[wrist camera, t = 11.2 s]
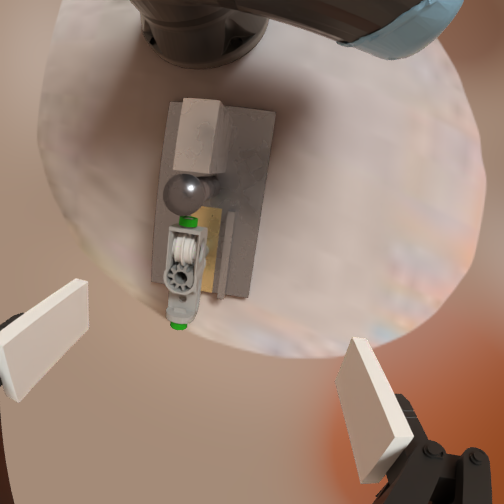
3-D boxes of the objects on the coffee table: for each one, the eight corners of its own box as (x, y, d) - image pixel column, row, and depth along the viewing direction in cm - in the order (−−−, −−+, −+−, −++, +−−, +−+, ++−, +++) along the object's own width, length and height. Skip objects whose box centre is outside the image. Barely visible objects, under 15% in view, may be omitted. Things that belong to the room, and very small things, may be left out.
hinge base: (172, 103, 33) (129, 75, 21) (275, 113, 33) (280, 84, 21) (153, 279, 39) (110, 323, 26) (248, 294, 39) (240, 349, 26)
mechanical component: (185, 288, 38) (160, 327, 28) (195, 203, 35) (168, 216, 25) (209, 293, 38) (191, 334, 28) (221, 207, 35) (203, 222, 25)
